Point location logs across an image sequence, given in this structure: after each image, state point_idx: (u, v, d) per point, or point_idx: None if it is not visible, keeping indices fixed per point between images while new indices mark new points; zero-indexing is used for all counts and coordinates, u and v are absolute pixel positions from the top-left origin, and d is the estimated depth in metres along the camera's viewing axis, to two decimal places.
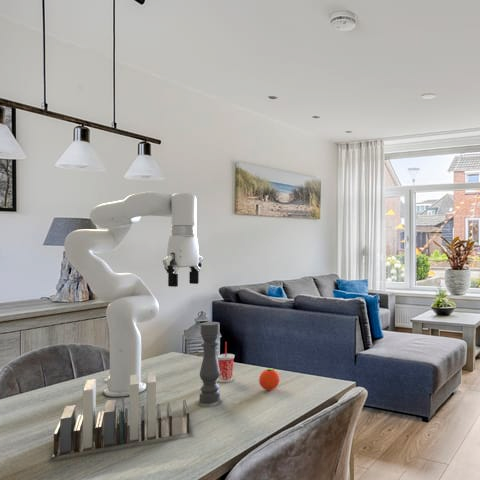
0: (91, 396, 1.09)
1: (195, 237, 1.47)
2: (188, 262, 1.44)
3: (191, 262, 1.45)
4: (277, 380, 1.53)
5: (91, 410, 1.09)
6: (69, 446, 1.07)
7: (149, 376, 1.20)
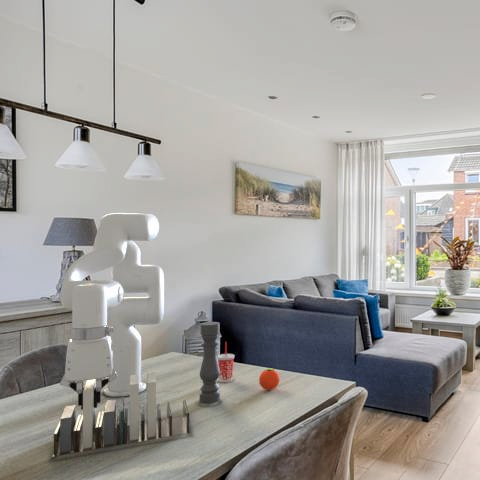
0: (91, 396, 1.09)
1: (101, 341, 1.12)
2: (87, 375, 1.10)
3: (93, 374, 1.11)
4: (277, 380, 1.53)
5: (91, 410, 1.09)
6: (69, 446, 1.07)
7: (149, 376, 1.20)
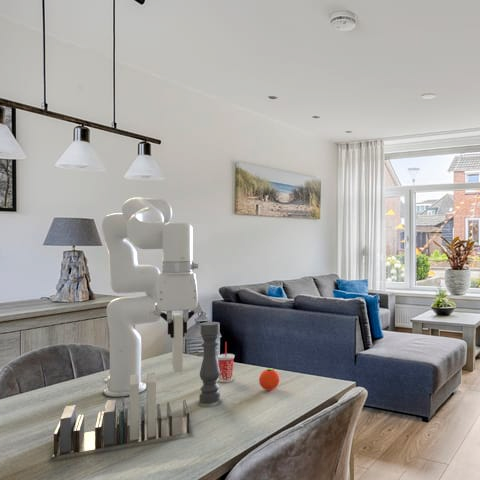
0: (181, 324, 1.18)
1: (189, 275, 1.21)
2: (176, 306, 1.19)
3: (181, 305, 1.20)
4: (277, 380, 1.53)
5: (181, 337, 1.18)
6: (69, 446, 1.07)
7: (149, 376, 1.20)
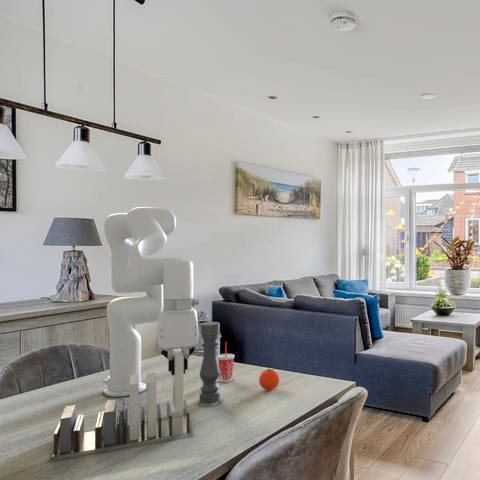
0: (182, 362, 1.18)
1: (189, 312, 1.21)
2: (177, 343, 1.19)
3: (182, 342, 1.20)
4: (277, 380, 1.53)
5: (182, 375, 1.18)
6: (69, 446, 1.07)
7: (149, 376, 1.20)
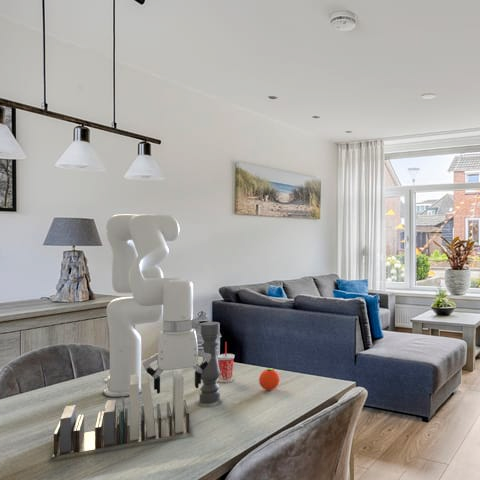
0: (182, 384, 1.18)
1: (189, 333, 1.21)
2: (177, 364, 1.19)
3: (182, 364, 1.20)
4: (277, 380, 1.53)
5: (182, 397, 1.18)
6: (69, 446, 1.07)
7: (142, 376, 1.19)
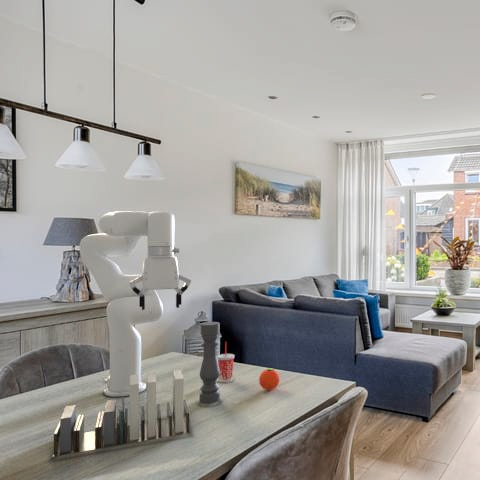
0: (182, 384, 1.18)
1: (171, 258, 1.37)
2: (159, 285, 1.36)
3: (164, 285, 1.36)
4: (277, 380, 1.53)
5: (182, 397, 1.18)
6: (69, 446, 1.07)
7: (149, 376, 1.20)
